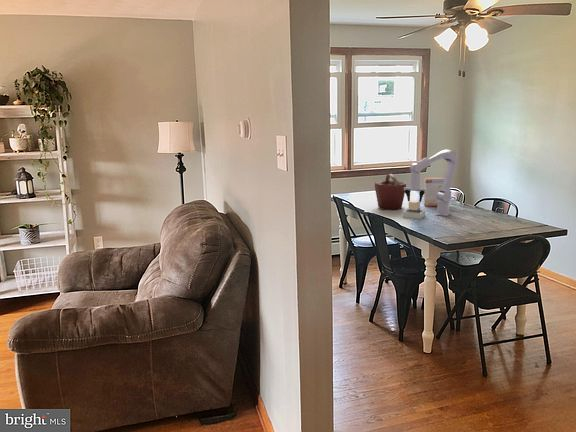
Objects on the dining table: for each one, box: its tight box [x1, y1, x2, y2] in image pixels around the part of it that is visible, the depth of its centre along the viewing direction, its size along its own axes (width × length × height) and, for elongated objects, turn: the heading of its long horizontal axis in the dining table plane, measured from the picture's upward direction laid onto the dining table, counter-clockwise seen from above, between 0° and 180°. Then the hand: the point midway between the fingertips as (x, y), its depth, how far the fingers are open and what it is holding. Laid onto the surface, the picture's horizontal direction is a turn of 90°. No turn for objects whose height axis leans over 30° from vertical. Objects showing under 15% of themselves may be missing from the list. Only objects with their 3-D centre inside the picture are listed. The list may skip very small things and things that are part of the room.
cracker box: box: [423, 177, 445, 207], centre depth 353 cm, size 14×6×21 cm, turn 84°
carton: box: [408, 199, 421, 210], centre depth 318 cm, size 8×6×5 cm
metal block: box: [408, 207, 421, 213], centre depth 319 cm, size 8×6×5 cm
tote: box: [402, 208, 426, 220], centre depth 320 cm, size 11×12×4 cm
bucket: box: [374, 173, 407, 211], centre depth 348 cm, size 24×22×25 cm
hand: (414, 201), depth 318 cm, fingers open, 7 cm apart
